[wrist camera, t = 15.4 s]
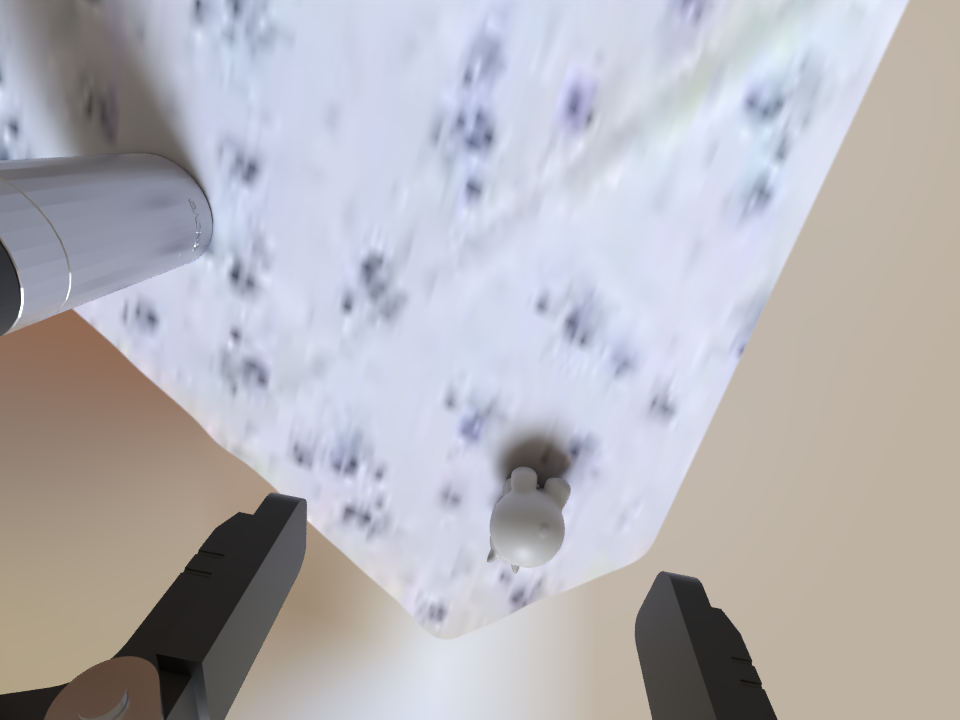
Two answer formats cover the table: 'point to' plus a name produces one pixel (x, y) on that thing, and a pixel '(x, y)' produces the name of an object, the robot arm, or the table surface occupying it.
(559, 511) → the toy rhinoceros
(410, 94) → the table surface
